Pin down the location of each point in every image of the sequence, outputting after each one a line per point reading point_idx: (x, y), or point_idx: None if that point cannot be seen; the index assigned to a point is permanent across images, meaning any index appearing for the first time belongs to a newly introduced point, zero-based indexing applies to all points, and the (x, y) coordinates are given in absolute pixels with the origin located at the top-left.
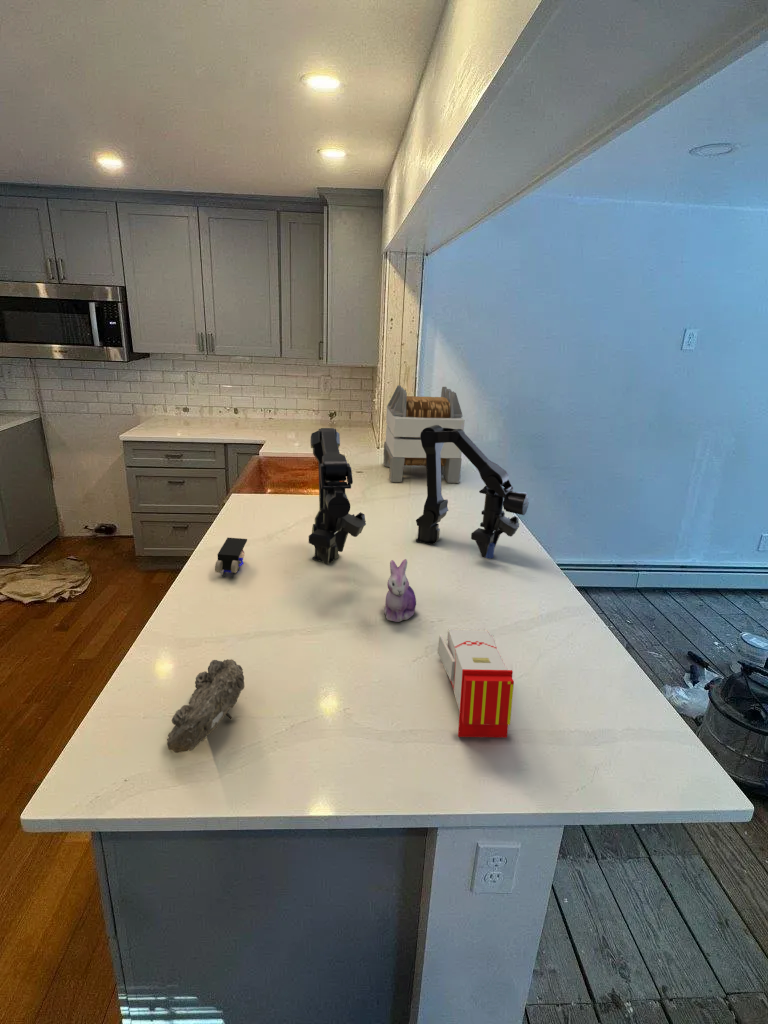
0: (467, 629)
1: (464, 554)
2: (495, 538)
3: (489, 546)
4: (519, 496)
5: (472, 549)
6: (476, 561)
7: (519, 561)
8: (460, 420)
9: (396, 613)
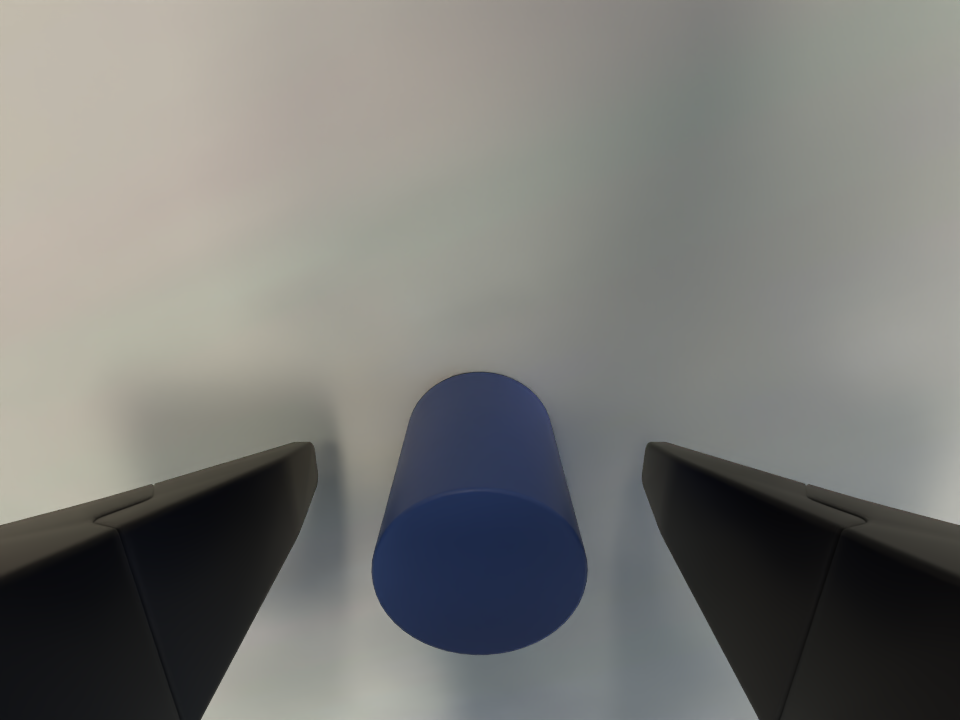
0: None
1: (317, 126)
2: (740, 637)
3: (384, 601)
4: None
5: (596, 156)
6: (224, 378)
7: (555, 709)
8: None
9: None
